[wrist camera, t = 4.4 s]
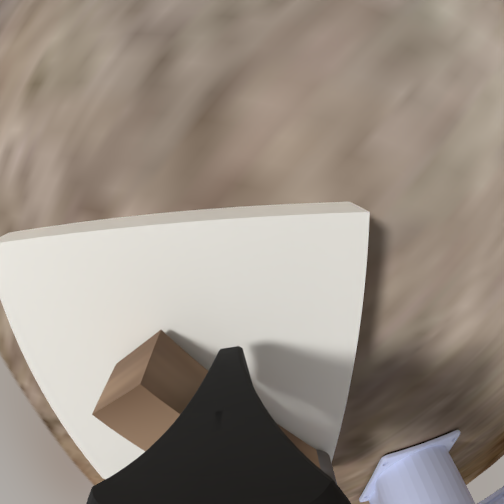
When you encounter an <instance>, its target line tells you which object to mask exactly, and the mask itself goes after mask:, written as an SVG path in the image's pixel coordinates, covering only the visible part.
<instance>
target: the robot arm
mask: <svg viewBox="0 0 504 504" xmlns="http://www.w3.org/2000/svg"><path fill="white" fill-rule="evenodd" d="M460 433H461V432H460V431H459V430H456V431H453V432H451V433H448V434H446V435H443V436H441V437H438V438H436V439H433V440H430V441H428V442H425V443H422V444H419V445H416V446H413V447H410V448H407V449H404V450H401V451H398V452H395V453H391V454H388V455H385V456H383V457H382V458H381V459H380V461H379V463H378V465H377V467H376V469H375V471H374V473H373V475H372V477H371V479H370V480H369V482H368V484H367V486H366V488H365V489H364V491H363V493H362V495H361V496H360V498H359V501H360V502H365V501H368V500H369V502H370V504H475V502H474V500H473V498H472V496H471V494H470V492H469V490H468V488H467V486H466V484H465V482H464V480H463V479H462V477H461V475H460V473H459V471H458V469H457V467H456V465H455V463H454V462H453V460H452V458H451V456H450V454H449V450H450V449H451V447H452V446H453V444H454V443H455V441H456V440H457V438H458V437H459V435H460ZM87 504H351V503H350V501H349V500H348V498H347V497H346V496H345V494H344V493H343V492H342V490H341V489H340V488H339V487H338V485H337V484H336V483H335V481H334V480H333V479H332V478H331V477H330V476H328V475H327V474H326V473H325V472H323V471H322V470H321V469H320V468H319V467H317V466H316V465H315V464H314V463H313V462H312V461H311V460H309V459H308V458H307V457H306V456H305V455H304V454H303V453H302V452H301V451H300V450H299V449H298V448H297V447H296V446H295V445H294V443H293V442H292V441H291V440H290V439H289V438H288V437H287V436H286V435H285V433H284V432H283V431H282V430H281V429H280V427H279V426H278V425H277V423H276V422H275V421H274V419H273V418H272V417H271V415H270V414H269V412H268V411H267V409H266V408H265V406H264V405H263V403H262V401H261V400H260V398H259V396H258V394H257V393H256V391H255V389H254V387H253V384H252V380H251V377H250V373H249V370H248V366H247V362H246V359H245V355H244V352H243V348H241V347H240V346H236V347H230V348H223V349H220V350H219V352H218V353H217V356H216V358H215V360H214V361H213V363H212V365H211V367H210V369H209V371H208V373H207V375H206V376H205V378H204V380H203V381H202V383H201V385H200V386H199V388H198V390H197V391H196V393H195V394H194V396H193V397H192V399H191V400H190V402H189V403H188V405H187V406H186V408H185V409H184V410H183V412H182V413H181V414H180V416H179V417H178V418H177V419H176V421H175V422H174V423H173V424H172V425H171V426H170V428H169V429H168V430H167V431H166V432H165V433H164V434H163V435H162V436H161V437H160V438H159V439H158V440H157V441H156V442H155V443H154V444H153V445H152V446H151V447H150V448H149V449H148V450H146V451H145V452H144V453H143V454H142V455H140V456H139V457H138V458H137V459H135V460H134V461H133V462H131V463H130V464H129V465H127V466H126V467H125V468H123V469H122V470H120V471H119V472H117V473H116V474H114V475H112V476H111V477H109V478H107V479H106V480H104V481H102V482H100V483H99V484H97V485H95V486H93V487H92V489H91V492H90V495H89V497H88V501H87ZM477 504H504V486H503V487H502V488H500V489H499V490H497V491H496V492H494V493H493V494H491V495H490V496H488V497H487V498H485V499H484V500H482V501H481V502H479V503H477Z"/></svg>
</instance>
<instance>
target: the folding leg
mask: <svg viewBox="0 0 504 504" xmlns="http://www.w3.org/2000/svg"><path fill="white" fill-rule="evenodd" d="M207 373H208V370H207V369H205V368H204V367H203V366H202V365H201V364H199V363H198V362H197V361H196V360H195V359H194V358H192V357H191V356H190V355H189V354H188V353H187V352H186V351H184V350H183V349H182V348H181V347H180V346H179V345H178V344H177V343H175V342H174V341H173V340H172V339H171V338H170V337H169V336H168V335H167V334H166V333H165V332H163V331H162V330H160V331H158V332H157V333H156V334H155V335H153V336H152V337H151V338H149V339H148V340H147V341H145V342H144V343H143V344H141V345H140V346H139V347H138V348H136V349H135V350H134V351H132V352H131V353H130V354H128V355H127V356H126V357H125V358H123V359H122V360H121V361H119V362H118V363H117V364H116V365H115V367H114V369H113V371H112V373H111V375H110V377H109V379H108V381H107V383H106V386H105V388H104V390H103V392H102V394H101V396H100V398H99V400H98V402H97V405H96V407H95V409H94V411H93V413H92V415H93V416H95V417H96V418H97V419H99V420H100V421H101V422H103V423H104V424H105V425H107V426H108V427H109V428H111V429H112V430H114V431H115V432H117V433H118V434H119V435H121V436H122V437H124V438H125V439H127V440H128V441H130V442H131V443H133V444H134V445H136V446H138V447H139V448H141V449H142V450H144V451H146V450H148V449H149V448H150V447H151V446H152V445H153V444H154V443H155V442H156V441H157V440H158V439H159V438H160V437H161V436H162V435H163V434H164V433H165V432H166V431H167V430H168V429H169V428H170V426H171V425H172V424H173V423H174V422H175V421H176V419H177V418H178V417H179V416H180V414H181V413H182V412H183V410H184V409H185V408H186V406H187V405H188V403H189V402H190V400H191V399H192V397H193V396H194V394H195V393H196V391H197V390H198V388H199V386H200V385H201V383H202V381H203V380H204V378H205V376H206V375H207ZM277 425H278V424H277ZM278 426H279V427H280V429H281V430H282V431H283V432H284V433H285V435H286V436H287V437H288V438H289V439H290V440H291V441H292V442H293V443H294V445H295V446H296V447H297V448H298V449H299V450H300V451H301V452H302V453H303V454H304V455H305V456H306V457H307V458H308V459H309V460H311V461H312V462H313V463H314V464H315V465H316V466H317V467H319V468H320V469H321V470H322V471H323V472H325V473H326V474H327V475H328V476H330V477H331V478H332V479H333V480H334V481H335V483H336V479H335V475H334V471H333V467H332V463H331V459H330V456H329V454H328V453H326V452H325V451H322V450H316V449H315V448H313V447H311V446H310V445H308V444H307V443H305V442H304V441H302V440H301V439H299V438H298V437H296V436H295V435H293V434H292V433H290V432H289V431H287V430H286V429H284V428H283V427H281V426H280V425H278ZM336 484H337V483H336Z"/></svg>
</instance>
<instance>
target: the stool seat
mask: <svg viewBox="0 0 504 504" xmlns="http://www.w3.org/2000/svg"><path fill="white" fill-rule="evenodd" d="M369 216H370V212H369V211H367V210H365V209H363V208H361V207H359V206H357V205H355V204H354V203H352V202H324V203H299V204H278V205H260V206H244V207H229V208H215V209H202V210H190V211H179V212H168V213H157V214H147V215H137V216H128V217H119V218H110V219H102V220H93V221H86V222H78V223H70V224H63V225H56V226H49V227H42V228H35V229H29V230H22V231H16V232H10V233H7V234H5V235H3V236H1V237H0V299H1V302H2V304H3V307H4V310H5V313H6V315H7V318H8V320H9V323H10V325H11V328H12V330H13V333H14V335H15V337H16V340H17V342H18V344H19V346H20V349H21V351H22V353H23V355H24V357H25V359H26V361H27V363H28V365H29V367H30V369H31V371H32V373H33V375H34V377H35V379H36V381H37V383H38V385H39V386H40V388H41V390H42V392H43V394H44V395H45V397H46V399H47V400H48V402H49V404H50V405H51V407H52V409H53V410H54V412H55V414H56V415H57V417H58V418H59V420H60V421H61V423H62V424H63V426H64V427H65V429H66V430H67V432H68V433H69V435H70V436H71V438H72V439H73V440H74V442H75V443H76V445H77V446H78V447H79V449H80V450H81V451H82V453H83V454H84V455H85V457H86V458H87V459H88V461H89V462H90V463H91V464H92V466H93V467H94V468H95V469H96V471H97V472H98V473H99V474H100V475H101V477H102V478H104V479H107V478H109V477H111V476H112V475H114V474H116V473H117V472H119V471H120V470H122V469H123V468H125V467H126V466H127V465H129V464H130V463H131V462H133V461H134V460H135V459H137V458H138V457H139V456H140V455H142V454H143V453H144V452H145V451H144V450H142V449H141V448H139V447H138V446H136V445H134V444H133V443H131V442H130V441H128V440H127V439H125V438H124V437H122V436H121V435H119V434H118V433H117V432H115V431H114V430H112V429H111V428H109V427H108V426H107V425H105V424H104V423H103V422H101V421H100V420H99V419H97V418H96V417H95V416H93V415H92V413H93V411H94V409H95V407H96V405H97V402H98V400H99V398H100V396H101V394H102V392H103V390H104V388H105V386H106V383H107V381H108V379H109V377H110V375H111V373H112V371H113V369H114V367H115V365H116V364H117V363H118V362H119V361H121V360H122V359H123V358H125V357H126V356H127V355H128V354H130V353H131V352H132V351H134V350H135V349H136V348H138V347H139V346H140V345H141V344H143V343H144V342H145V341H147V340H148V339H149V338H151V337H152V336H153V335H155V334H156V333H157V332H158V331H160V330H162V331H163V332H165V333H166V334H167V335H168V336H169V337H170V338H171V339H172V340H173V341H174V342H175V343H177V344H178V345H179V346H180V347H181V348H182V349H183V350H184V351H186V352H187V353H188V354H189V355H190V356H191V357H192V358H194V359H195V360H196V361H197V362H198V363H199V364H201V365H202V366H203V367H204V368H205V369H207V370H208V371H209V369H210V367H211V365H212V363H213V361H214V360H215V358H216V356H217V353H218V352H219V350H220V349H223V348H230V347H236V346H240V347H241V348H243V352H244V355H245V359H246V362H247V366H248V370H249V373H250V377H251V380H252V384H253V387H254V389H255V391H256V393H257V394H258V396H259V398H260V400H261V401H262V403H263V405H264V406H265V408H266V409H267V411H268V412H269V414H270V415H271V417H272V418H273V419H274V421H275V422H276V423H277V424H278V425H280V426H281V427H283V428H284V429H286V430H287V431H289V432H290V433H292V434H293V435H295V436H296V437H298V438H299V439H301V440H302V441H304V442H305V443H307V444H308V445H310V446H311V447H313V448H315V449H316V450H322V451H325V452H326V453H328V454H329V456H330V459H331V463H332V459H333V456H334V452H335V448H336V445H337V441H338V437H339V433H340V429H341V425H342V420H343V416H344V412H345V407H346V403H347V398H348V393H349V388H350V383H351V378H352V372H353V367H354V361H355V355H356V349H357V343H358V336H359V329H360V322H361V314H362V306H363V297H364V288H365V277H366V266H367V253H368V237H369Z"/></svg>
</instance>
